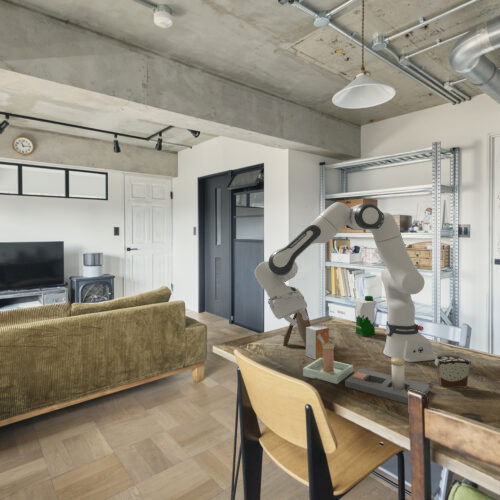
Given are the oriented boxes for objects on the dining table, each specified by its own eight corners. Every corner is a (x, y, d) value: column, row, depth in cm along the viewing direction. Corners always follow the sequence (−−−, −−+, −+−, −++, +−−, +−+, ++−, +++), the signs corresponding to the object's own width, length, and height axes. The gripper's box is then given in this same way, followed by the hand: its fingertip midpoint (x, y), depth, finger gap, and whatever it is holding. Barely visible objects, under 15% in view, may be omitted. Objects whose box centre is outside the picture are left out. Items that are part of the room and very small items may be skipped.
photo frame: (308, 335, 187) (308, 288, 185) (315, 349, 165) (315, 296, 163) (280, 335, 187) (279, 288, 185) (284, 349, 165) (283, 296, 163)
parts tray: (303, 375, 135) (303, 368, 135) (320, 364, 146) (320, 357, 146) (337, 385, 126) (337, 377, 126) (352, 372, 137) (352, 365, 137)
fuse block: (345, 387, 125) (345, 380, 124) (360, 374, 135) (360, 367, 135) (418, 408, 110) (418, 400, 109) (428, 392, 120) (429, 384, 120)
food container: (460, 379, 130) (460, 353, 129) (471, 387, 124) (471, 359, 123) (427, 380, 130) (427, 353, 129) (436, 388, 123) (437, 360, 123)
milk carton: (377, 335, 185) (377, 297, 183) (362, 337, 182) (363, 298, 181) (367, 331, 193) (367, 294, 192) (352, 332, 190) (353, 295, 189)
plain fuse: (403, 388, 122) (402, 357, 121) (407, 394, 117) (406, 362, 117) (389, 388, 122) (389, 357, 122) (393, 394, 118) (392, 362, 117)
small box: (315, 360, 151) (315, 330, 150) (305, 356, 156) (305, 327, 156) (329, 356, 155) (329, 327, 155) (318, 352, 161) (318, 324, 160)
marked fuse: (332, 370, 138) (332, 342, 138) (335, 375, 134) (335, 346, 133) (321, 370, 138) (321, 343, 138) (323, 375, 134) (323, 346, 133)
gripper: (270, 294, 139) (291, 322, 133) (297, 287, 155) (317, 312, 149) (261, 304, 142) (282, 332, 136) (289, 296, 158) (308, 321, 152)
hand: (300, 321), depth 143 cm, fingers open, 8 cm apart
